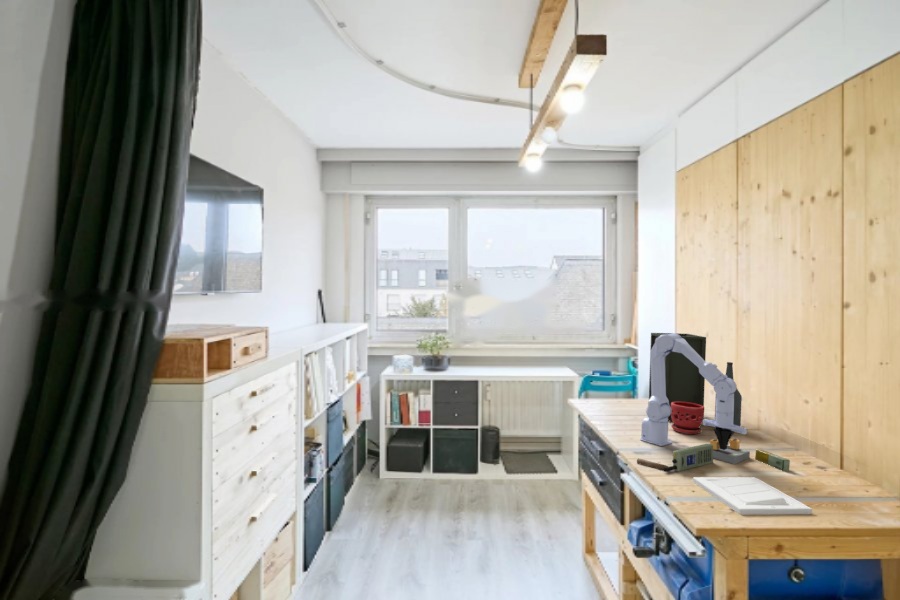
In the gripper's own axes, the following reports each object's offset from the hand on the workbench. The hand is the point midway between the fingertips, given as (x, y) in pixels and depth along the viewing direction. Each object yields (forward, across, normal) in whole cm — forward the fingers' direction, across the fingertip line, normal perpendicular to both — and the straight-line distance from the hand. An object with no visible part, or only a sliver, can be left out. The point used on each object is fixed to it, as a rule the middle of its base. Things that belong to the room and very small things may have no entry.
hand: (723, 449), depth 177 cm
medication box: (+4, -13, -8) cm, 16 cm away
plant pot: (+4, +26, -24) cm, 35 cm away
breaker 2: (+1, -1, -7) cm, 7 cm away
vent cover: (+4, -20, +28) cm, 35 cm away
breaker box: (+3, +1, -4) cm, 5 cm away
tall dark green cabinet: (+4, +43, -44) cm, 62 cm away
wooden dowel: (+4, +10, +30) cm, 32 cm away
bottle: (+4, +18, -44) cm, 47 cm away
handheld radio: (+4, +2, +20) cm, 20 cm away
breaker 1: (+1, +3, 0) cm, 3 cm away
